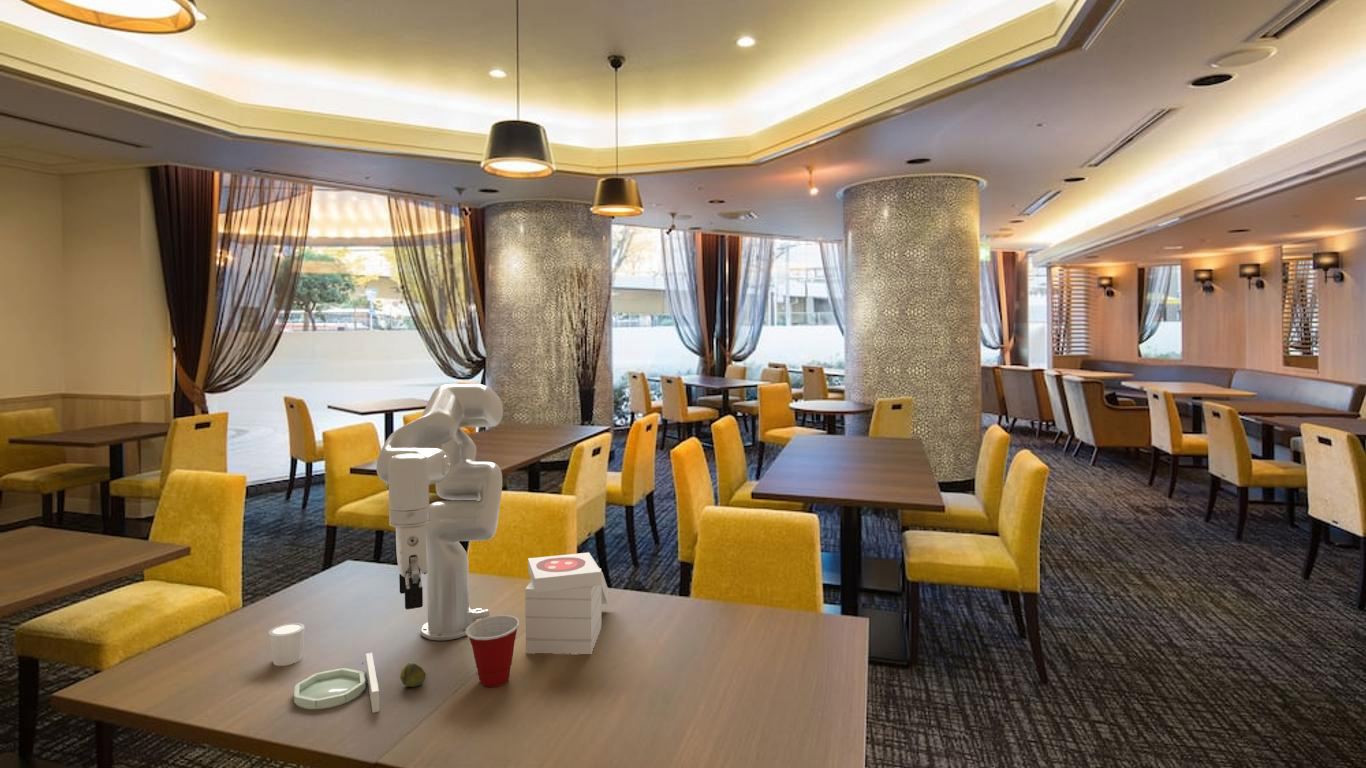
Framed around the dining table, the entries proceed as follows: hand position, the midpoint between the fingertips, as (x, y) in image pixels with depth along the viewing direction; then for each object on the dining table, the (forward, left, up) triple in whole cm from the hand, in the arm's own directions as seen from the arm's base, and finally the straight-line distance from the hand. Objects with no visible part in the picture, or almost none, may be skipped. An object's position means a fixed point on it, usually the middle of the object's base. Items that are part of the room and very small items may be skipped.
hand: (410, 599), depth 141 cm
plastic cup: (-15, +5, -18) cm, 24 cm away
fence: (+7, -2, -18) cm, 20 cm away
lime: (0, 0, -18) cm, 18 cm away
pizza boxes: (-37, -12, -18) cm, 43 cm away
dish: (+15, -5, -18) cm, 24 cm away
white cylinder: (+23, -25, -18) cm, 39 cm away
